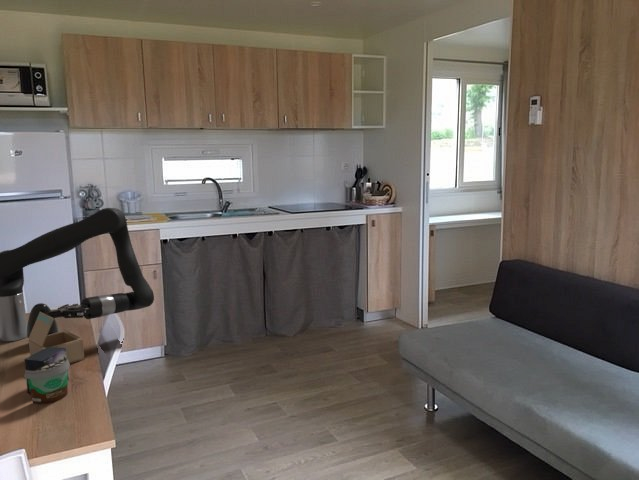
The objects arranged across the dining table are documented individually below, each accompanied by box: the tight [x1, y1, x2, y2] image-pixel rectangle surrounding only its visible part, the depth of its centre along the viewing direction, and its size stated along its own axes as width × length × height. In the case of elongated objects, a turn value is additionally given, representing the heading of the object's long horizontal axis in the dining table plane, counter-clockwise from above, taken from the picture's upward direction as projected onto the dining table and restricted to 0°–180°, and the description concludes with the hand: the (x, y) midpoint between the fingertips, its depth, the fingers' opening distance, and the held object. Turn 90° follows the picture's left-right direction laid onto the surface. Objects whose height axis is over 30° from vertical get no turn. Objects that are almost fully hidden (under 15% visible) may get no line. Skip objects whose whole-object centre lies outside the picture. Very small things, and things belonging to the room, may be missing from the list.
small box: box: [23, 346, 70, 394], centre depth 156 cm, size 11×6×10 cm, turn 168°
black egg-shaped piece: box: [26, 302, 60, 338], centre depth 192 cm, size 10×10×15 cm
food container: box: [23, 357, 71, 405], centre depth 148 cm, size 12×6×10 cm, turn 148°
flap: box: [27, 312, 54, 347], centre depth 173 cm, size 11×1×9 cm, turn 47°
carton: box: [27, 330, 85, 365], centre depth 178 cm, size 15×13×7 cm
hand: (47, 315), depth 174 cm, fingers closed
